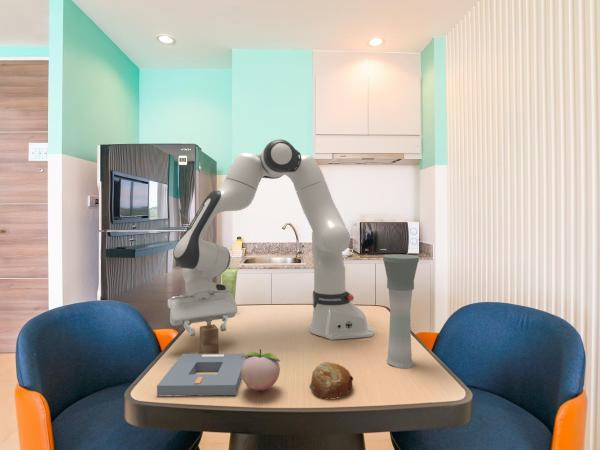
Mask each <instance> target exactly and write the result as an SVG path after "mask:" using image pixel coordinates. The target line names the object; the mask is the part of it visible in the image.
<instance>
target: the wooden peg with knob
mask: <svg viewBox="0 0 600 450" xmlns="http://www.w3.org/2000/svg"><path fill="white" fill-rule="evenodd" d="M212 322H213V320H212V319H207V320H206V321H205V323H206V325H202V326H199V354H220V353H219V345H220V344H219V328H218V326H217V325H216V324H212Z"/></svg>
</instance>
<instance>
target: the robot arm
mask: <svg viewBox="0 0 600 450" xmlns="http://www.w3.org/2000/svg"><path fill="white" fill-rule="evenodd" d="M228 169H229V170H228V171H227V173H226V176H225V179H224V180H223V183H221V185H220V187H219V188H218V189H216V190H212V191H211V192H210V193H209V194H208V195H207V196H206V198H205V199H204V200H203V202H202V203H201V205H200V206H199V209H198V210H197V211H196V214H195V215H194V217H193V219H192V220H191V222H190V224H189V225H188V228H186V230H185V232H184V233H183V234H182V236H181V237H180V238H179V240H177V242H176V243H175V245H174V248H173V252H172V253H173V259H174V260H175V263H176V264H177V265H178V267H180V268H181V271H182V278H183V280H184V282H185V286H184V289H185V295H184V294H183V295H179V296H177V295H174V296H172V297H171V298H169V299H168V300H167V305H166V306H167V307H168V308H167V309H169V310H170V312H169V321H170V324H171V326H173V327H176V326H183V328H184V329H185V331H187V332H188V337H190V338H191V337H195V335H196V330H195V328H194V327H193V328H192V327H191V326H190V324H197V323H202V322H203V323H204V322H206V320H207V319H212V321H217V320H221V321H222V322H223V323H221V324H220V325H219V328H220V332H226V331H227V329H228V327H227V321H228V319H230V318H231V319H232V318H234V317H236V315H237V313H238V306H237V303H236V299H235V300H234V297H233V295H232V294H231V293H229V287H228V286H227V285H223V284H222V283H217V282H213V279H214V278H217V277H218V276H221V273H223V272H224V271H225V270H226V269H227V268H228V267H229V266H230V263H231V253H230V251H229V249H228V248H227V247H226V246H224V245H220V244H218V243H214V242H210V241H207V240H205V239H203V237H204V235H205V233H206V232H207V230H208V228H209V227H210V225H211V223H212V222H213V219H214V218H215V216H217V215H219V214H220V213H224V212H234V211H235V212H237V211H242V210H244V209H246V208H248V207H249V206H250V205H251V204H252V202H253V200H254V199H255V196H256V193H257V190H258V188H259V185H260V182H261V181H262V178H263V179H270V180H273V179H274V180H275V179H276V180H277V179H279V178H282V177H283V176H286V177H288V178H289V179H290V181H291V183H293V187H294V190H295V193H296V195H297V198H298V200H299V204H300V206H301V209H302V211H303V214H304V215H305V217H306V219H307V222H308V224H309V226H310V228H311V230H312V232H311V244H312V245H311V247H312V259H313V283H314V284H313V291H312V307H313V310H312V317H311V323H310V327H309V331H310V333H312V334H313V335H316V336H320V337H322V338H326V339H327V340H330V341H331V340H332V341H333V340H343V339H345V340H347V339H357V338H358V339H359V338H370V337H373V336H374V329H373V327H372V325H370V324H369V323H368V322H367V318H366V314H365V313H364V311H362V309H360V308H359V307H358V306H357V305H355V304H354V303H353V301H354V295H353V294H351V293H350V292H348V291H347V290H346V267H345V263H344V256H343V252H345V251H346V250H347V249H348V248H349V246H350V244H351V234H350V232H349V230H348V229H347V227H346V224H345V222H344V219H343V218H342V216H341V214H340V212H339V210H338V208H337V206H336V205H335V202H334V199H333V197H332V195H331V192H330V189H329V187H328V184H327V182H326V179H325V176H324V173H323V172H322V169H321V167H320V166H319V164H318V162H317V160H316V159H315V157H313V156H312V155H310V154H301V152H299V150H297V149H296V147H295V146H293V144H291V143H290V142H289V141H287V140H286V139H282V138H281V139H275V140H271V141H270V142H269V143H267V144H266V146H265V147H264V148H263V149H262V152H261V153H260V154H254V153H251V152H241V153H239V154H238V155H236V157H235V158H234V160H233V162H232V164H231V165H230V167H229V168H228Z"/></svg>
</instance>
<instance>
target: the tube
mask: <svg viewBox="0 0 600 450" xmlns="http://www.w3.org/2000/svg"><path fill="white" fill-rule="evenodd" d="M238 271H239V267H231V266H230V267H228V268H227V269H226V270H225V271H224V272H223V273H221V274H220V277H221V280H220V281H221V284H223V285H227V286H228V287H229V293H231V294H232V295H233V297H234V300H235V301H236V290H237V276H238Z"/></svg>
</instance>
